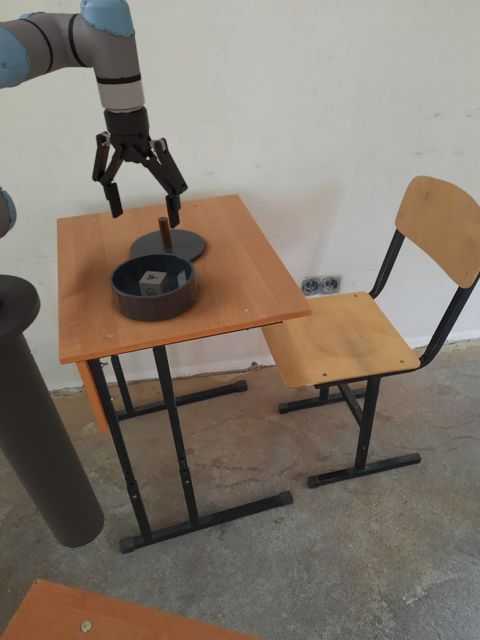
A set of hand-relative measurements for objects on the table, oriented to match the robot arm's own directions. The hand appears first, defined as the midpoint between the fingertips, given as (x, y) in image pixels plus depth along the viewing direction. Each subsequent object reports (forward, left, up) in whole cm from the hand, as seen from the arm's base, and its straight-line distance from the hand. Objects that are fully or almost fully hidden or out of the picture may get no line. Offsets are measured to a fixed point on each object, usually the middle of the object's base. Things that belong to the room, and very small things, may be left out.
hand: (146, 220), depth 97 cm
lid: (-2, +26, -21) cm, 34 cm away
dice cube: (-2, +3, -21) cm, 21 cm away
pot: (-2, +3, -21) cm, 22 cm away
